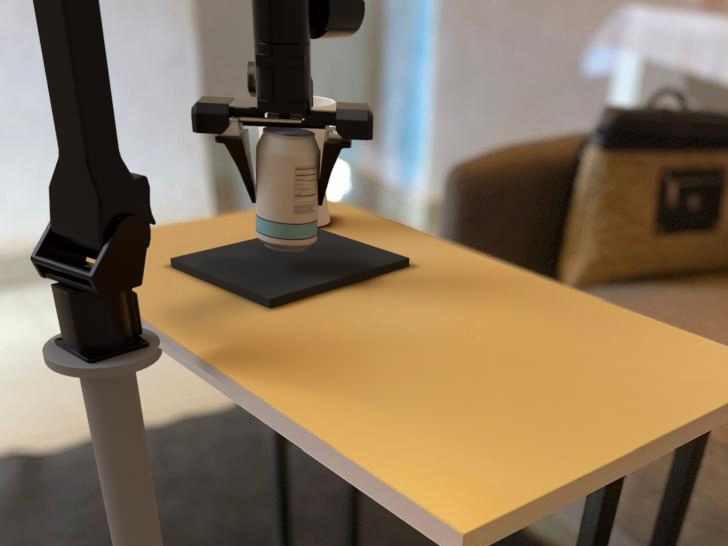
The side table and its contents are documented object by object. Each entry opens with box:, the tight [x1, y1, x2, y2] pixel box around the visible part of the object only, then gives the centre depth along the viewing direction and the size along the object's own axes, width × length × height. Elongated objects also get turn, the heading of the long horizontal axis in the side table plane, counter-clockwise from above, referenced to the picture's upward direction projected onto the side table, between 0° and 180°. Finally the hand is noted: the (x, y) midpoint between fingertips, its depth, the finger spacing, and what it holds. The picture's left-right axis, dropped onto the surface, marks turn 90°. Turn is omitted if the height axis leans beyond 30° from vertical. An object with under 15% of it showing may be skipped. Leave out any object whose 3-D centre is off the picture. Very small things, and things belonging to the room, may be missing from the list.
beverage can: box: [255, 127, 321, 252], centre depth 93 cm, size 7×7×12 cm
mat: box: [169, 227, 411, 309], centre depth 100 cm, size 22×18×1 cm
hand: (287, 203), depth 93 cm, fingers closed on beverage can, 7 cm apart
